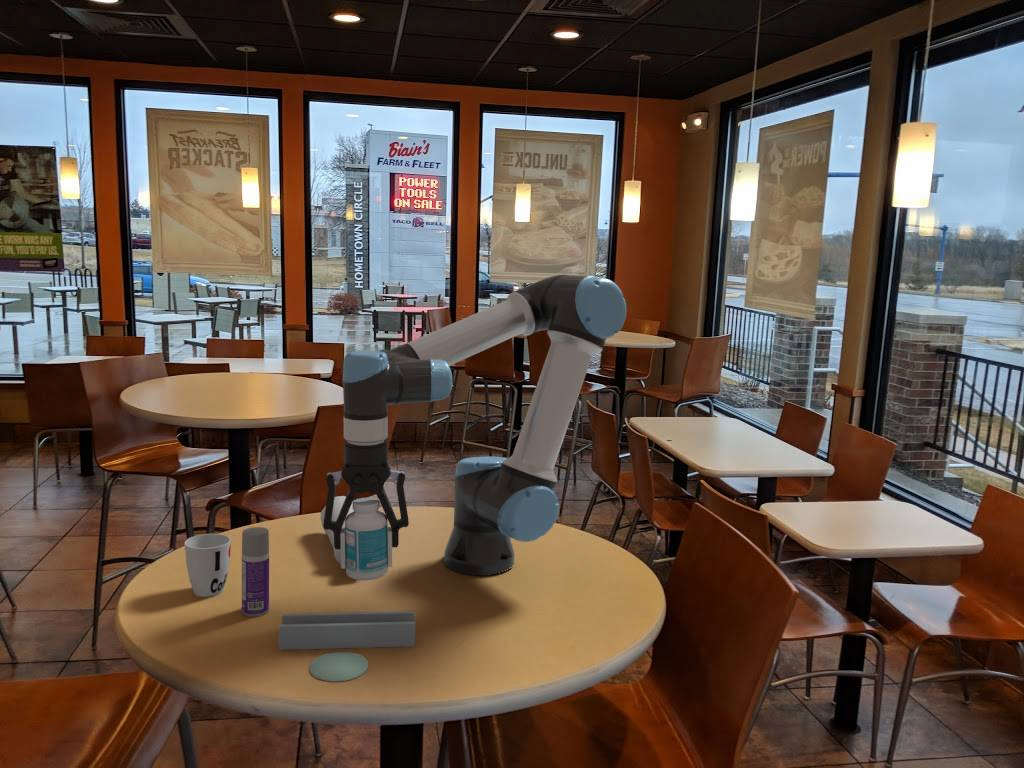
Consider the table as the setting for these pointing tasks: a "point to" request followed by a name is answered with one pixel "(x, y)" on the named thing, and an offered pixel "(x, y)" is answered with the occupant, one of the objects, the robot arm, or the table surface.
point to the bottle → (336, 510)
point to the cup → (208, 563)
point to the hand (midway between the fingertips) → (366, 564)
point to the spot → (338, 666)
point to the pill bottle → (366, 540)
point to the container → (255, 571)
